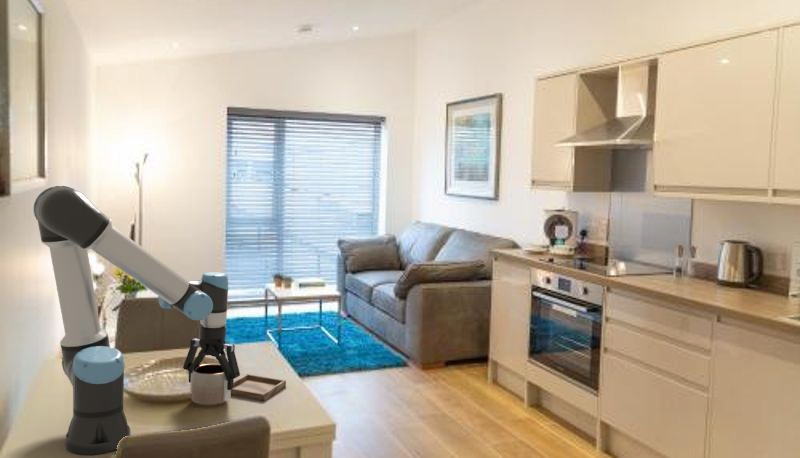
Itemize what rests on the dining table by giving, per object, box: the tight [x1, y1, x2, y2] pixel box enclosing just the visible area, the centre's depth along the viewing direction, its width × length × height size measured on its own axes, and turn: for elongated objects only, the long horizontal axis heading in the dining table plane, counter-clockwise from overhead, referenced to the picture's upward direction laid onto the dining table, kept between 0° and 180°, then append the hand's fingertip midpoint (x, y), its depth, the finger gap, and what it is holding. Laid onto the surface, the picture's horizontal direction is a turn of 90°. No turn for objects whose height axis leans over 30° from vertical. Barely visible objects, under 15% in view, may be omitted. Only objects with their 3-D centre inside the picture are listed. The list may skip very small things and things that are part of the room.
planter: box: [190, 363, 226, 407], centre depth 197 cm, size 11×11×10 cm
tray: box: [231, 373, 287, 402], centre depth 210 cm, size 14×14×2 cm
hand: (210, 396), depth 197 cm, fingers closed on planter, 11 cm apart
